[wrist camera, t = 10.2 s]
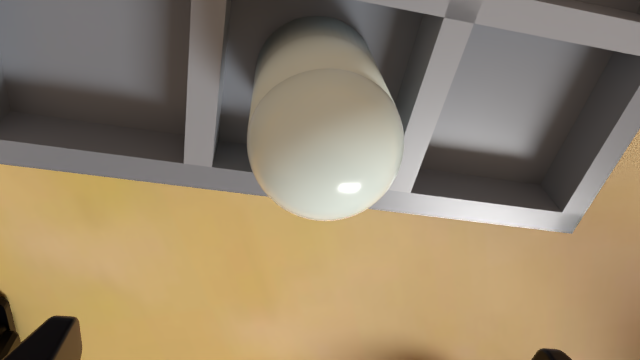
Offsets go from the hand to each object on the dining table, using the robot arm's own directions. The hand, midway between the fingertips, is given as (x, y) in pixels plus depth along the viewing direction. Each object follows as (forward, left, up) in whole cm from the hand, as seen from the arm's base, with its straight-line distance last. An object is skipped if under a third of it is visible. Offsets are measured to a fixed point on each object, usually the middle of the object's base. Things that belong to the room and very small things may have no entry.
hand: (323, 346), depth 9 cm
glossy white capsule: (0, +1, -11) cm, 11 cm away
